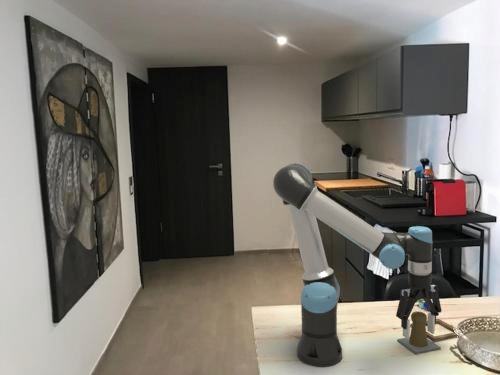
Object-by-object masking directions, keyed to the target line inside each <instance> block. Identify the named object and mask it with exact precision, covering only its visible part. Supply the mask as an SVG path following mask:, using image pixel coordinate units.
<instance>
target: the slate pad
mask: <svg viewBox="0 0 500 375" xmlns="http://www.w3.org/2000/svg"><path fill="white" fill-rule="evenodd" d="M396 339H397V342H398V343H399V344H400V345H401V346H403V347H404V348H406V349H407V350H409V351H410V352H411V353H413V354H414V355H420V354H425V353H430V352H434V351H440V350H442V349H441V346H439V345H438V344H437V343H435V342H433V341H431V340H430V339H428V338H427V342H428V345H427V346H426V347H415V346H413V345H411V344H410V343H409V340H410V339H407V338H406V337H403V338H402V337H401V338H396Z"/></svg>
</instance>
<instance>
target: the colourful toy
mask: <svg viewBox="0 0 500 375" xmlns="http://www.w3.org/2000/svg"><path fill="white" fill-rule="evenodd" d="M416 303H418V307H419V308H420V309H422V310H426V309H428V307H427V305H426V303H425V301H424V299H420V300H418V301H417V302H416ZM428 310H429V309H428Z"/></svg>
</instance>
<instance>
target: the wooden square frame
mask: <svg viewBox="0 0 500 375" xmlns="http://www.w3.org/2000/svg"><path fill="white" fill-rule="evenodd" d="M427 323H428V320H427V321H426V323H425V326H426V327H427ZM435 325H439V326H441V327H443V328H444V329H446V330H448V331H449V332H450V333H445V334H439V335H436V336H435V335H434V334H432V333H430V332H428V331H427V330H426V334H427V339H429V340H430V341H432V342H433V343H435V342H436V343H437V342H442V341H446V340H450V339H451V340H452V339H455V338H458V337H457V336H458V335H457V334H456V333H455V332H454V330H453V328H455V327H454V326H453V325H451V324H449V323H447V322H445V321H443V320H442V319H439V318H436V323H435ZM411 328H412V323H410V329H411Z"/></svg>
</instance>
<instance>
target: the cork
mask: <svg viewBox="0 0 500 375" xmlns="http://www.w3.org/2000/svg"><path fill="white" fill-rule="evenodd" d="M410 321H411V322H412V323H411V324H412V328H411V327H410V340H409V343H410V344H411V345H413V346H415V347H426V346H427V345H428V342H427V339H428V338H427V334H426V331H427V328H426V327H427V326H425V323H426V321H428V315H427V314H426V313H424V312H422V311H412V312H411V313H410Z"/></svg>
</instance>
